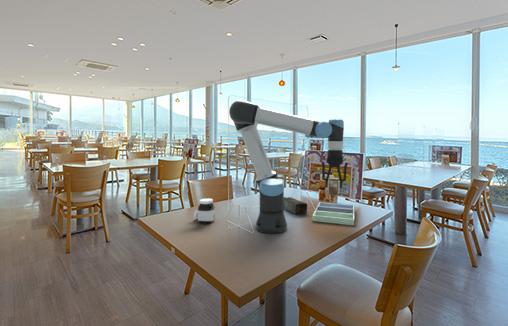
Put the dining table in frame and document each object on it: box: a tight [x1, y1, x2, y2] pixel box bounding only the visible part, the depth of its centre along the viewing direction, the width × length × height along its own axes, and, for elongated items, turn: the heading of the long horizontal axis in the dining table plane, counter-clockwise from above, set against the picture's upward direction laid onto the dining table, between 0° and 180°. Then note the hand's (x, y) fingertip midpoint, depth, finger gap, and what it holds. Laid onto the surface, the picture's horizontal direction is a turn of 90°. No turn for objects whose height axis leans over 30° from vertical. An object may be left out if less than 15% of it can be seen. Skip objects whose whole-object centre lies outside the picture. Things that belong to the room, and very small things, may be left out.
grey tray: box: [317, 201, 355, 210], centre depth 161 cm, size 21×9×3 cm, turn 70°
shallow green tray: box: [314, 205, 355, 215], centre depth 152 cm, size 21×9×3 cm, turn 70°
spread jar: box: [193, 197, 216, 224], centre depth 143 cm, size 12×11×12 cm
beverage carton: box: [284, 196, 308, 215], centre depth 163 cm, size 8×19×7 cm, turn 22°
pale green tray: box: [312, 210, 355, 226], centre depth 143 cm, size 21×9×3 cm, turn 70°
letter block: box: [328, 176, 340, 196], centre depth 141 cm, size 4×5×8 cm
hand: (333, 193), depth 142 cm, fingers closed on letter block, 4 cm apart
